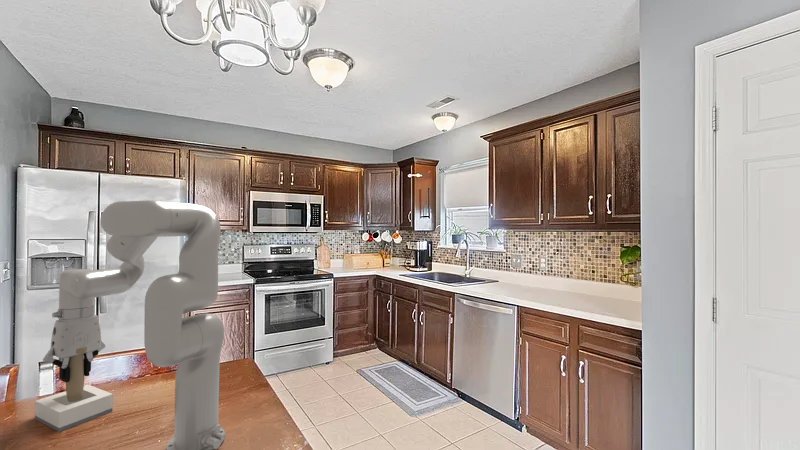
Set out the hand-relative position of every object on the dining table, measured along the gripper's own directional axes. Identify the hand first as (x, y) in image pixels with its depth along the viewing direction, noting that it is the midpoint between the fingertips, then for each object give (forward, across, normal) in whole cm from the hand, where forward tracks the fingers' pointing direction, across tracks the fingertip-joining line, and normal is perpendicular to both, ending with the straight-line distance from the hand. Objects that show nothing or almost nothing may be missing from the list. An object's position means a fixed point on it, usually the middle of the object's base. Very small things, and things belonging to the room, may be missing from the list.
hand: (75, 377), depth 103 cm
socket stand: (+11, 0, 0) cm, 11 cm away
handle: (+6, 0, 0) cm, 6 cm away
